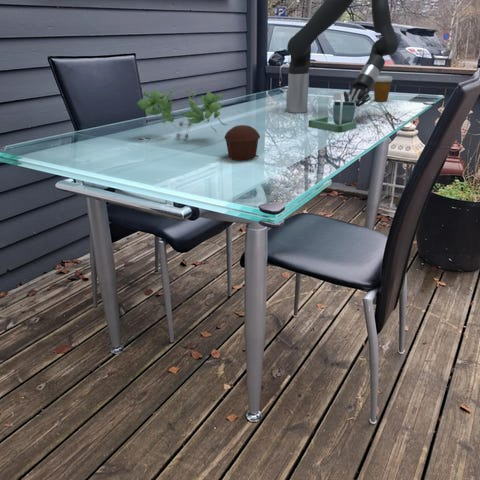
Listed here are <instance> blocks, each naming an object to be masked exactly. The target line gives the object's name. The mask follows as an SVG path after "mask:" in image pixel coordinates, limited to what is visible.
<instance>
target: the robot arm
mask: <svg viewBox="0 0 480 480" xmlns="http://www.w3.org/2000/svg"><path fill="white" fill-rule="evenodd" d="M354 1H355V0H324V1H323V2H322V3H321V5H320V6H319V7H318V9H316V10H315V12H314V13H313V15H312V16H311V17H310V19H309V20H308V21H307V22H306V24H305V25H304V26H303V27H302V28H301V29H300V30H299V31H297V32H296V33H295V34H294V35H293V36H292V37H291V38H290V39H289V40H288V42H287V46H286V49H287V53H288V54H289V56H290V62H289V66H288V76H287V77H288V79H287V81H288V84H287V86H288V87H287V90H286V96H285V97H286V101H285V102H286V105H285V106H286V109H285V110H286V111H287V112H288V113H291V114H292V113H295V114H301V113H302V114H303V113H307V112H308V101H309V98H308V97H309V77H310V67H311V56H312V55H311V54H312V53H311V52H312V44H314V42H315V40H316V39H318V37H319V36H321V34H322V33H324V32H325V31H326V30H328V29H329V28H330V27H332V25H334V24H335V23H336V22H337V21H338V20H339V19H340V18H341V16H342V15H344V13H346V11H347V10H348V9H349V7H350V6H351V5H352V4H353V2H354ZM370 3H371V4H370V5H371V16H372V23H373V30H374V32H375V33H377V34H380V35H381V36H382V38H379V39H377V40H376V41H375V42H374V43H373V44H372V47H371V49H370V53H369V56H368V60H367V61H366V62H365V65H364V66H363V68H362V69H361V70H360V72H359V74H358V75H357V77H356V79H355V80H354V82H353V85H352V87H351V88H350V89H349V90H348V91H344V92H343V100H344V102H356V107H358V108H360V107H361V106H363V105H365V104H366V103H368V102H369V101H370V100H371V97H370V92H371V91H372V89H373V88H374V83H375V82H376V80H377V78H378V76H380V74H381V72H382V70H383V69H384V66H385V63H386V61H385V60H386V59H385V58H384V57H385V56H390V55H394V54H395V53H396V52H397V51H398V49H399V40H398V37H397V34H396V32H395V30H394V28H393V25H392V17H391V11H390V5H389V0H371V2H370Z"/></svg>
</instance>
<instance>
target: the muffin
mask: <svg viewBox="0 0 480 480" xmlns="http://www.w3.org/2000/svg"><path fill="white" fill-rule="evenodd" d="M223 138H224V139H225V143H226V147H227V155H228V158H229V159H231V160H232V161H240V162H241V160H242V161H250V160H253V159H252V158H254V159H255V157H257V151H258V145H259V139H260V138H261V135H260V134H259V132H258V130H257V129H255V127H252V126H250V125H246V124H245V125H243V124H242V125H235V126H233V127H232V128H230V129H229V130H228V131H227V132H226V133H225V135H224V136H223ZM249 159H250V160H249Z"/></svg>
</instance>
